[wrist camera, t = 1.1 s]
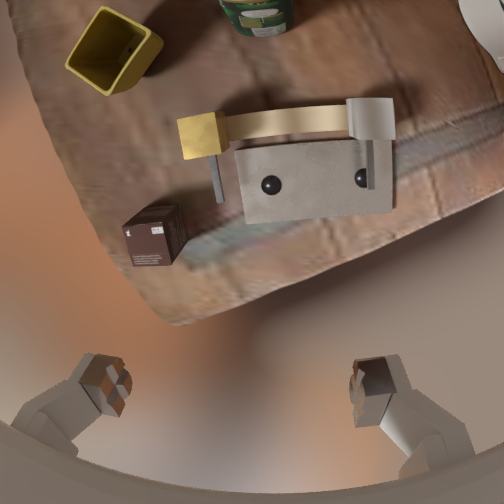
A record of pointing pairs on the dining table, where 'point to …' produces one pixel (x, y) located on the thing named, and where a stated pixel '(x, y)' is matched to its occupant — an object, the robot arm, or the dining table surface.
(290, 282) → the dining table surface
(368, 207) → the hole plate
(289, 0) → the coffee jar
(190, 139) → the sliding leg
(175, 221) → the box
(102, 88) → the flower pot
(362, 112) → the beam
